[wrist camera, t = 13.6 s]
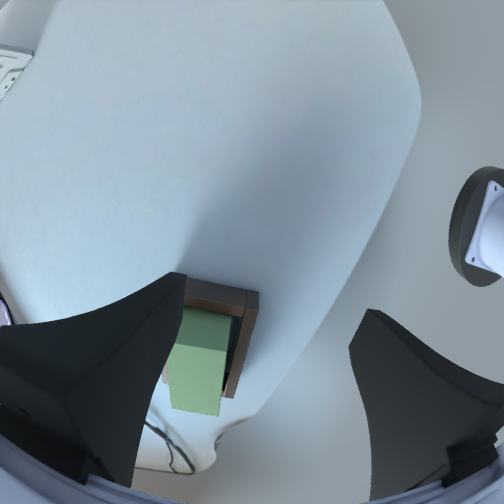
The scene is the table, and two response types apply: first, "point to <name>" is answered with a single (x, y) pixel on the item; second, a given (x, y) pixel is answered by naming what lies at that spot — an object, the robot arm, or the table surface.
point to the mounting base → (231, 304)
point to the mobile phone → (4, 314)
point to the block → (199, 361)
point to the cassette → (11, 65)
